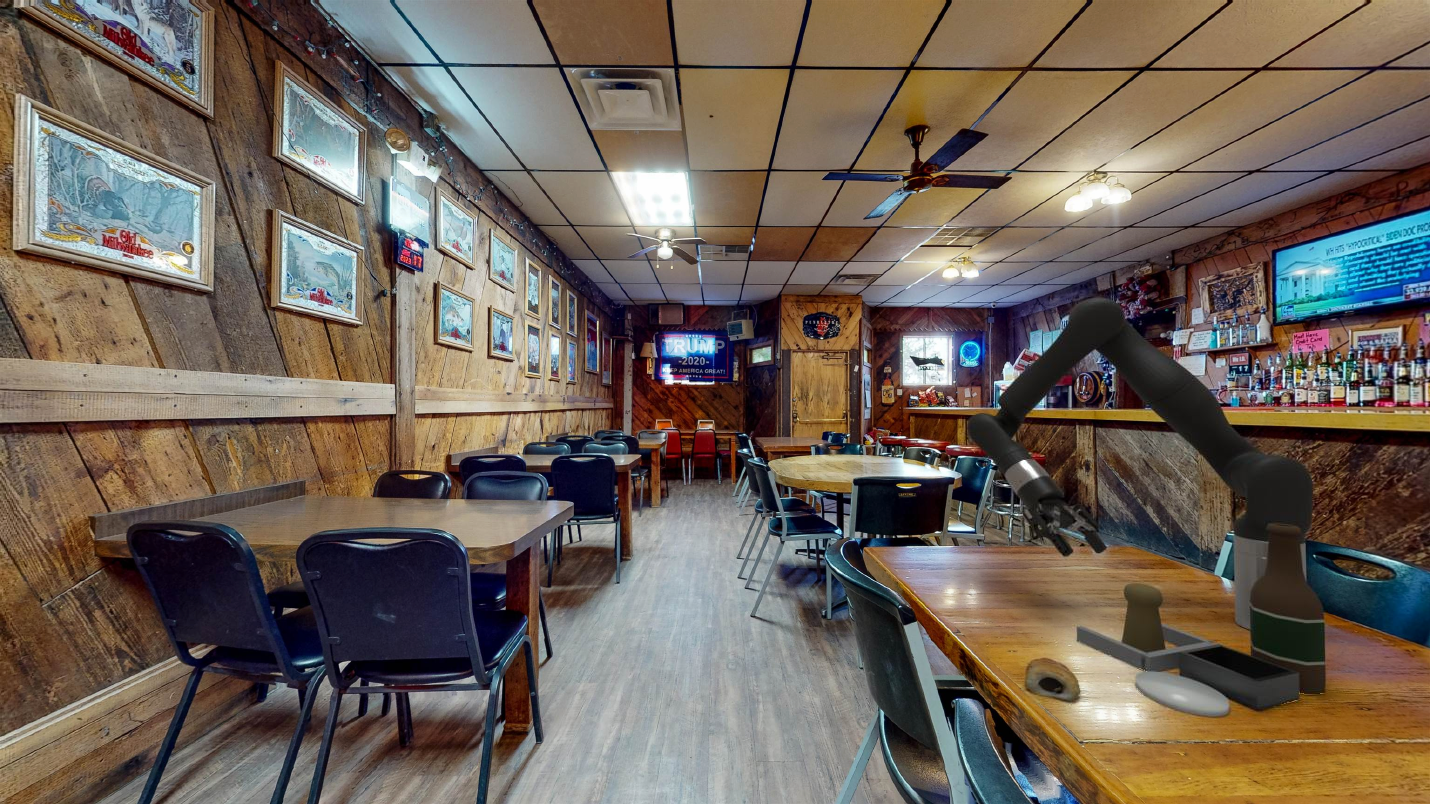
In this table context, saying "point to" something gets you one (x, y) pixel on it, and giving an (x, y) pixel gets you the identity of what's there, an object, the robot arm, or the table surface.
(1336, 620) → the table surface
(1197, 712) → the saucer
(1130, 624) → the cork
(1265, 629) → the beer bottle
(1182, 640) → the grey u-shaped frame
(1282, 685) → the open storage bin
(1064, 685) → the pastry
